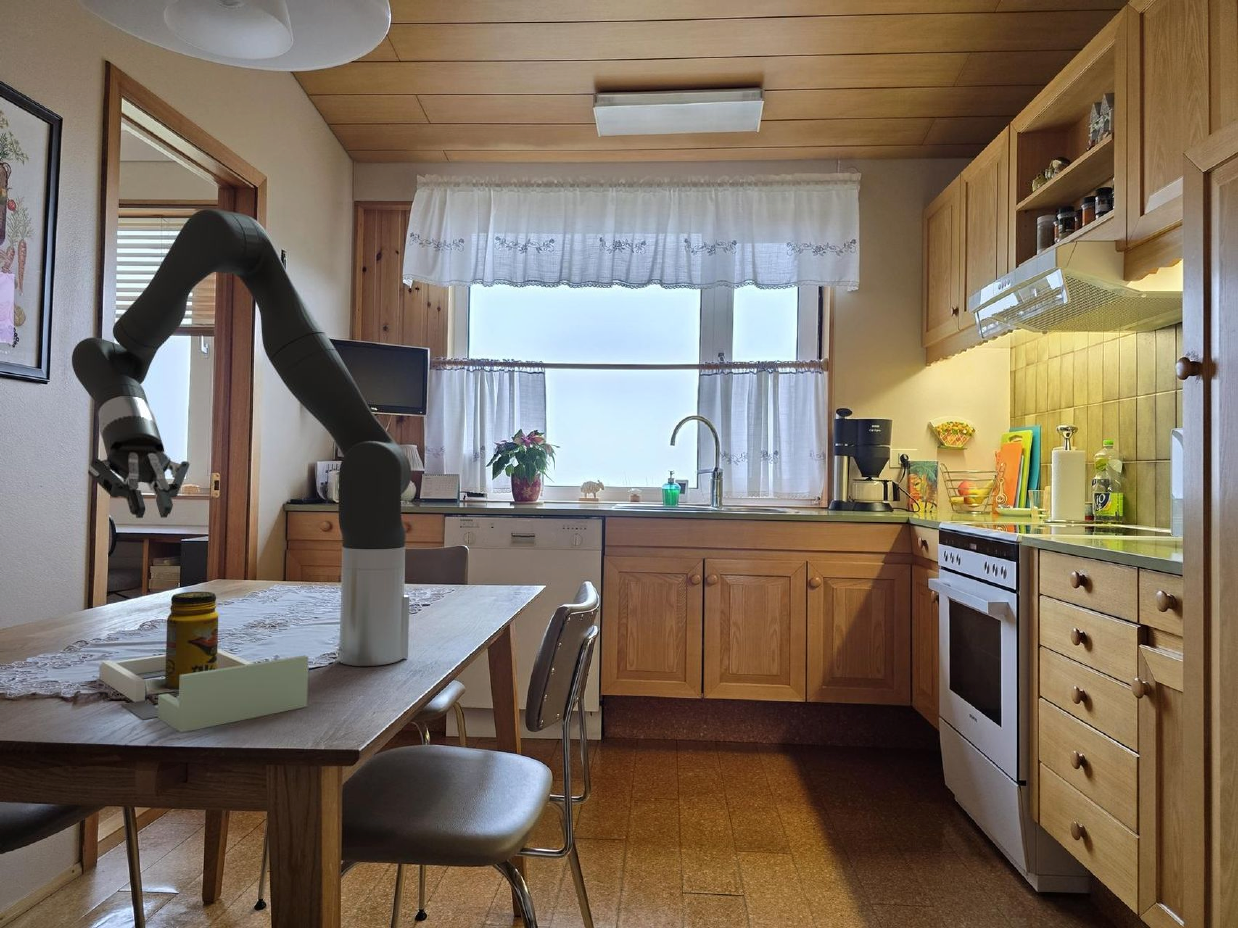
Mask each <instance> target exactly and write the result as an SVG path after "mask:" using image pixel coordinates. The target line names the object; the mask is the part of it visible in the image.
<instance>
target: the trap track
mask: <svg viewBox="0 0 1238 928" xmlns="http://www.w3.org/2000/svg"><path fill="white" fill-rule="evenodd" d="M217 649H218V650H217V651H218V652H217V669H215V670H208V671H202V672H196V673H189V674H183V675H180V678H179V691H178V698H176V697H175V696H173V695H172V694H170V693H162V694H159V695H157V699H158V701H157V707H156V706H155V705H153V704H152V703H150V702H148V700H147V701H146V685H145V680H146V679H150V678H151V679H152V678H158V677H163V676H164V677H165V667H166V654H161V655H155V656H145V657H140V658H139V657H138V658H131V659H125V660H123V659H122V660H117V661H113V660H111V659H108V660H102V661H101V663H99V667H98V669H99V670H98V673H99V674H98V679H99V680H101V681H102V682H104V683H105V684H106V685H108V686H110V687H111V688H112V689H114V690H116V691H118V693H120V694H122V695H123V696H125V697H127V698H128V699H129V700H131V701H132V702H126V703H121V704H120V705H121V706H122V707H123V708H125V709H126V710H128V711H129V712H131V713H132V714H134V715H135V716H136V717H138V718H139V719H141V720H142V721H144V720H150V719H155V718H158V719H160V720H162V721H163V722H165V724H168V725H169V726H170V727H172V728H174V729H175V730H176V731H178V732H179V733H186V732H190V731H195V730H200V729H205V728H209V727H215V726H219V725H223V724H229V723H234V722H238V721H244V720H248V719H253V718H258V717H262V716H268V715H274V714H278V713H282V712H287V711H292V710H297V709H301V708H306V707H307V706H308V685H309V684H308V683H309V681H308V679H309V656H307V655H299V656H293V657H287V658H286V657H285V658H281V659H273V660H267V661H261V662H254V663H253V662H252V661H249V660H246V659H244V658H242V657H239V656H237V655H234V654H232V653H230V652H227V651H224V650H222V649H220V648H217Z"/></svg>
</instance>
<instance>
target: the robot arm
mask: <svg viewBox="0 0 1238 928" xmlns="http://www.w3.org/2000/svg"><path fill="white" fill-rule="evenodd" d="M213 273H219V274H220V273H222V274H234V275H235V276H237V277H238V278H239V279H240V281H241V282H242V283H243V284H244V286H245V287H246V289H247V291H248V293H250V295H251V296H252V298H253V300H254V302H255V303H256V306H257V308H258V310H259V314H260V323H261V324H260V326H261V339H262V345H263V349H264V352H265V355H266V357H267V358H268V360H269V362H270V363H271V365H272V367H273V368H274V370H275V371H276V374H278V376H279V377H280V379H281V380H282V382H283V384H284V385H285V386H286V388H287V389H288V391H289V392H290V393H291V394H292V395H293V397H294V398H296V400H297V401H298V402H299V403H300V404H301V405H302V406H303V407H304V409H306V411H308V412H309V413H310V414H311V415H312V416H313V417H314V418H315V419H316V420H317V421H318V423H320V424H321V425H322V426H323V428H325V429H326V431H327V432H328V433H329V435H330V436H331V437H332V438H333V440H334V441H335V444H337V447H338V448H339V450H340V452H341V454H342V455H343V457H342V459H341V463H340V465H339V470H338V471H339V472H338V488H337V489H338V493H337V494H338V498H337V499H338V500H337V501H338V502H337V503H338V526H339V530H340V533H341V537H342V538H341V539H342V542H341V543H342V547H341V578H340V580H341V582H340V587H341V588H340V611H339V612H340V613H339V616H340V619H339V621H340V623H339V646H338V650H339V652H338V653H339V656H338V661H339V662H340V663H341V664H342V665H343V664H344V665H348V666H356V667H370V666H381V665H388V664H392V663H397V662H399V661H401V660H403V659H407V658H408V657H409V636H410V635H409V634H410V633H409V632H410V630H409V629H410V627H409V626H410V596H409V595H407V594H405V575H406V574H405V572H406V571H405V570H406V569H405V568H406V567H405V566H406V540H407V539H406V535H407V534H406V529H405V526H404V524H403V519H402V495H403V494H404V493H405V491H406V490H407V489H408V487H409V486H410V483H411V478H412V468H411V463H410V461H409V458H408V456H407V455H406V454H405V452H404V451H403V449H402V448H401V447H400V446H399V445H398V444H397V441H395V440H394V439H393V437H392V436H391V435H390V434H389V432H387V430H386V429H385V428H384V426H383V425H382V424H381V422H380V421H379V420H378V419H377V417H376V416H375V414H374V413H373V412H372V410H371V408H370V407H369V405H368V403H367V401H366V400H365V398H364V396H363V395H362V393H361V390H360V389H359V387H358V385H357V383H356V381H355V380H354V378H353V375H351V373H350V371H349V370H348V368H347V366H346V365H345V363H344V361H343V359H342V358H341V356H340V354H339V352H338V351H337V349H336V348H335V346H334V345H333V342H331V340H330V339H329V337H328V335H327V334H326V332H325V331H324V330H323V328H322V326H320V324H319V322H318V321H317V319H316V318H315V316H314V315H313V313H312V311H311V310H310V308H309V307H308V305H307V304H306V301H305V300H304V299H303V297H302V295H301V294H300V292H299V290H298V289H297V287H296V285H295V284H294V283H293V280H292V279H291V277H290V275H289V273H288V272H287V270H286V268H285V266H284V263H283V261H282V259H281V257H280V255H279V254H278V252H277V250H276V248H275V245H274V244H273V241H272V240H271V238H270V237H269V235H268V233H267V231H266V230H265V228H264V227H263V226H262V225H261V224H260V223H259V222H258V221H257V220H256V219H254V218H253V217H251V216H249V215H246V214H243V213H239V212H232V211H226V210H223V209H221V210H220V209H216V208H215V209H214V208H213V209H211V208H205V209H201V210H198V211H196V212H194V213H193V214H192V215H191V216H190V217H189V218H188V220H186V222H185V223H184V225H183V226H182V228H181V229H180V231H179V232H178V234H177V236H176V238H175V240H174V241H173V242H172V244H171V247H170V248H169V250H168V252H167V253H166V256H164V258H163V260H162V262H161V263H160V264H159V267H158V268H157V271H156V272H155V274H154V275H153V277H152V279H151V281H149V283H148V285H146V287H145V288H144V290H143V292H141V293H140V295H139V296H138V297H137V299H135V301H133V303H132V304H130V306H129V307H128V308H127V309H126V311H124V312H123V313H122V315H121V316H120V317H119V318H118V319H117V320H116V321H115V323H114V324H113V328H112V335H113V338H114V340H115V341H116V342H117V343H115V342H113V341H109V340H106V339H104V338H101V337H100V338H99V337H88V338H83V339H82V340H80V341H79V342H78V343H77V344H76V345H75V346H74V348H73V351H72V354H71V367H72V369H73V372H74V374H75V376H76V378H77V380H78V381H79V383H80V384H81V385H82V387H83V388H84V389H85V391H86V393H88V395H89V396H90V397H91V399H93V401H94V403H95V404H94V405H95V407H96V412H97V416H98V426H99V433H100V436H101V437H102V442H103V445H104V450H105V454H106V458H105V459H103V460H101V459H99V458H92V459H91V462H90V464H89V468H88V471H87V474H88V475H89V477H91V478H92V480H94V481H95V482H96V483H97V484H98V485H99V486H100V487H102V488H103V490H104V491H106V493H107V494H108V495H110V497H112V498H119V497H123V498H125V500H127V505H128V509H129V513H131V515H133V516H134V515H135V517H136V519H142V518H144V515H145V512H146V506H145V501H144V498H143V494H142V491H141V490H139V483H144V484H145V483H146V484H147V486H148V488H149V490H150V491H151V492H153V495H155V498H156V499H155V503H156V506H157V510H158V513H159V516H160V518H163V519H164V518H168V515H171V512H172V510H173V506H174V504H173V501H172V500H173V499H172V498H176V497H178V494H179V493H180V490H181V487H182V485H183V482H184V480H185V478H186V475H187V473H188V470H189V468H190V462H188V461H185V460H183V461H181V463H178V462H176V461H171V457H169V456H168V455H167V453H166V452H165V448H164V444H163V441H162V437H161V434H160V431H159V427H158V424H157V421H156V419H155V415H154V413H153V412H152V410H151V408H150V405H149V402H148V399H147V396H146V393H145V390H144V388H143V386H142V383H143V382H144V381H145V379H146V378H147V375H148V373H149V369H150V367H151V364H152V362H153V360H154V358H155V356H156V354H157V352H158V350H159V349H160V348H161V346H163V344H164V343H166V341H168V340H169V338H170V337H171V336H172V335H173V334H174V333H175V332H176V331H177V330H178V329H179V328H180V326H181V324H182V322H183V320H184V317H185V316H186V313H187V312H186V311H187V305H188V300H189V296H190V293H192V291H193V290H194V288H195V287H196V286H197V285H198V284H199V283H200V282H202V281H203V280H204V279H206V278H207V277H208V276H210V275H211V274H213ZM167 470H169V471H170V475H172V478H173V481H172V483H168V481H167V479H166V472H167ZM119 477H120V478H119ZM121 478H122V479H121Z"/></svg>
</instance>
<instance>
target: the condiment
mask: <svg viewBox="0 0 1238 928" xmlns="http://www.w3.org/2000/svg"><path fill="white" fill-rule="evenodd" d="M170 600H171V606H170V608H169V609H170V613H169V615H168V617H167V619H166V644H165V646H166V649H165V655H166V667H165V676H164V678H153V679H152V678H151V679H144V680H145V691H146V694H147V695H153V694H165V693H172V692H179V678H180V675H183V674H189V673H196V672H202V671H208V670H215V669H217V652H218V651H217V650H218V649H219V648H218V645H219V641H218V640H219V614H218V612H217V611H216V608H217V604H216V603H217V602H216V600H217V596H216V594H215V592H212V591H186V592H179V593H175V594H173V595H172V596H171V598H170ZM217 648H218V649H217Z"/></svg>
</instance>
